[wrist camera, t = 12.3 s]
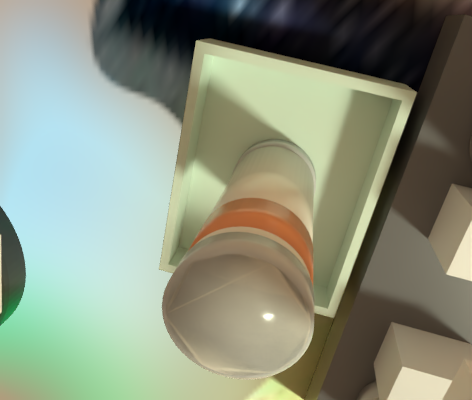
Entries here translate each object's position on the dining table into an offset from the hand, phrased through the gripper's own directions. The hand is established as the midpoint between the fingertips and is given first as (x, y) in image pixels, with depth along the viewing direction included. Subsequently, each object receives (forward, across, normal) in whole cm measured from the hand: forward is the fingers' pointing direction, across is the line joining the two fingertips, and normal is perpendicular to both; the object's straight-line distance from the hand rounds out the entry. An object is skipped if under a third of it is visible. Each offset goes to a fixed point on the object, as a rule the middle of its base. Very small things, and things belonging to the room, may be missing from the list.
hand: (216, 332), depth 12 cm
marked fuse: (+14, +1, 0) cm, 14 cm away
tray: (+15, +1, 0) cm, 15 cm away
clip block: (+14, +11, -3) cm, 18 cm away
